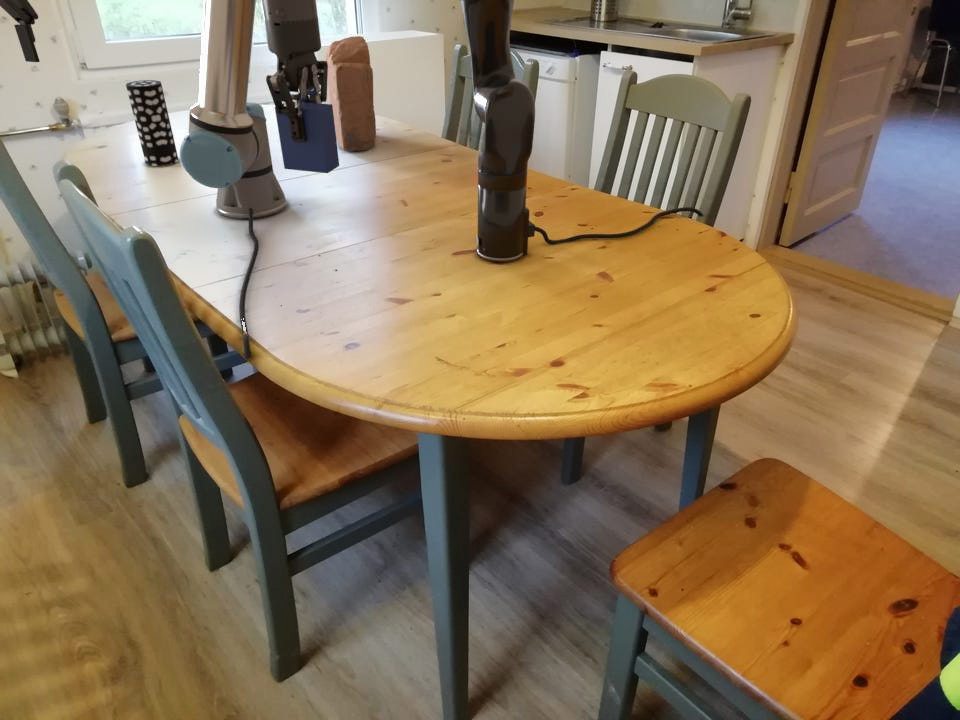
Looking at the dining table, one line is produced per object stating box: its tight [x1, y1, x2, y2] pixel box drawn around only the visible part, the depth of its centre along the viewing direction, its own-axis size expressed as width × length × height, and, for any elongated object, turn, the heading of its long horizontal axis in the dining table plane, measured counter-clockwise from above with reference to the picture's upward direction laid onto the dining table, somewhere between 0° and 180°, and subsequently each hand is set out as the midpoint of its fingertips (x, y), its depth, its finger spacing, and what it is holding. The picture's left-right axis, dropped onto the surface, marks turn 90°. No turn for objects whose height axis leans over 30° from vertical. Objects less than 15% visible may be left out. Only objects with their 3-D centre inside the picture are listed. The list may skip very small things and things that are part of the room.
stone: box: [325, 35, 377, 152], centre depth 197 cm, size 22×11×28 cm, turn 18°
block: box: [274, 101, 340, 174], centre depth 107 cm, size 4×8×10 cm, turn 72°
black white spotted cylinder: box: [125, 79, 179, 167], centre depth 181 cm, size 8×8×20 cm
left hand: (3, 67), depth 130 cm, fingers open, 13 cm apart
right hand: (307, 137), depth 107 cm, fingers closed on block, 4 cm apart
